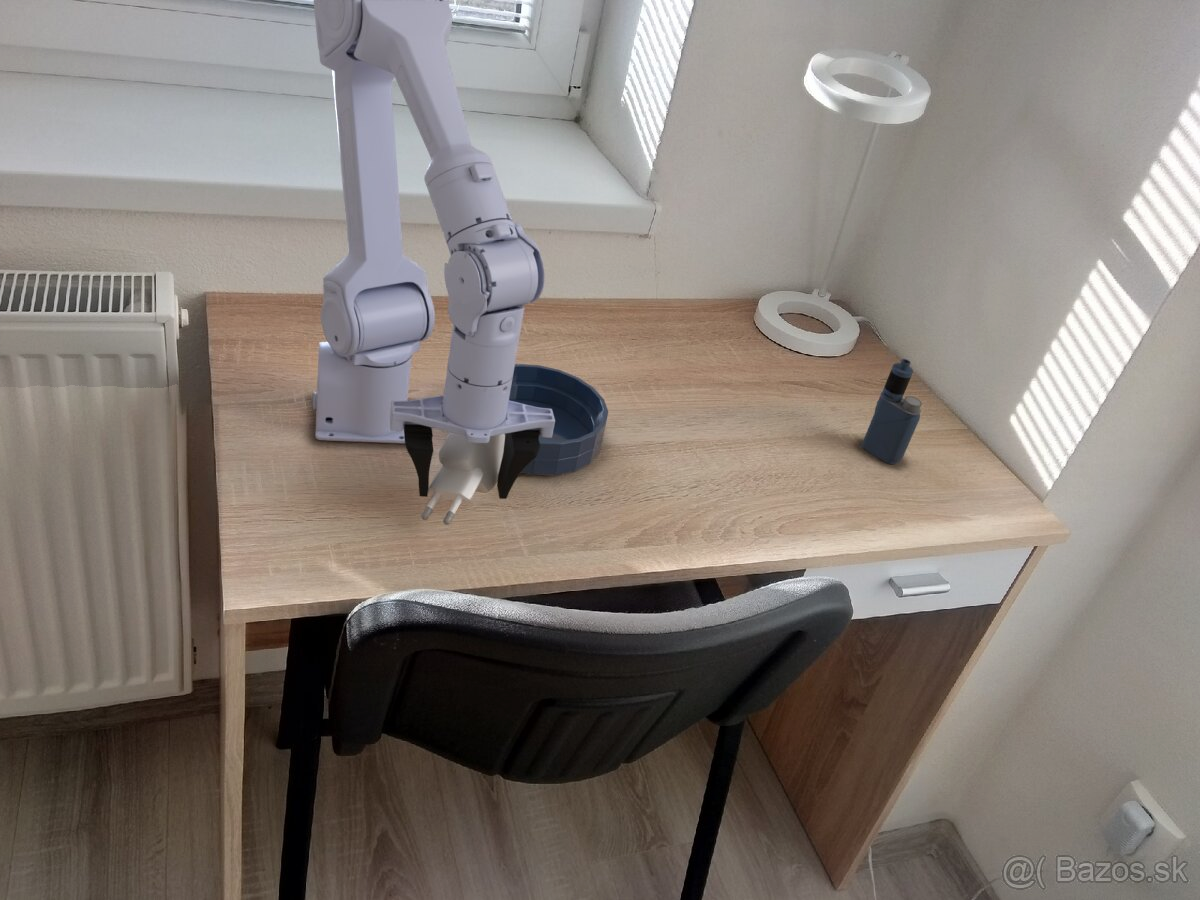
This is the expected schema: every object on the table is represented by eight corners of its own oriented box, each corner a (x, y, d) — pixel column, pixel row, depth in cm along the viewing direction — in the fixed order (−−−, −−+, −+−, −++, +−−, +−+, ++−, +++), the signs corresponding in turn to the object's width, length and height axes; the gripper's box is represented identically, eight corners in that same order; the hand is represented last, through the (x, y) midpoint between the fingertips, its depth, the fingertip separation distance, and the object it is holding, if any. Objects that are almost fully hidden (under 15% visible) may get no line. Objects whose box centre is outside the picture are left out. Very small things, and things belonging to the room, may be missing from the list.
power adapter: (470, 545, 97) (443, 511, 92) (429, 536, 99) (401, 502, 95) (521, 449, 102) (497, 412, 98) (481, 443, 104) (456, 406, 100)
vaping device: (867, 438, 126) (902, 353, 119) (904, 461, 123) (942, 375, 116) (856, 445, 124) (890, 358, 117) (893, 468, 121) (930, 381, 115)
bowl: (469, 476, 105) (474, 440, 102) (456, 394, 117) (460, 360, 114) (612, 481, 109) (621, 446, 106) (585, 401, 121) (593, 368, 118)
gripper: (397, 389, 86) (385, 516, 93) (569, 399, 89) (544, 520, 97) (394, 345, 91) (382, 468, 99) (556, 355, 95) (533, 473, 103)
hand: (462, 491), depth 98 cm, fingers open, 7 cm apart
